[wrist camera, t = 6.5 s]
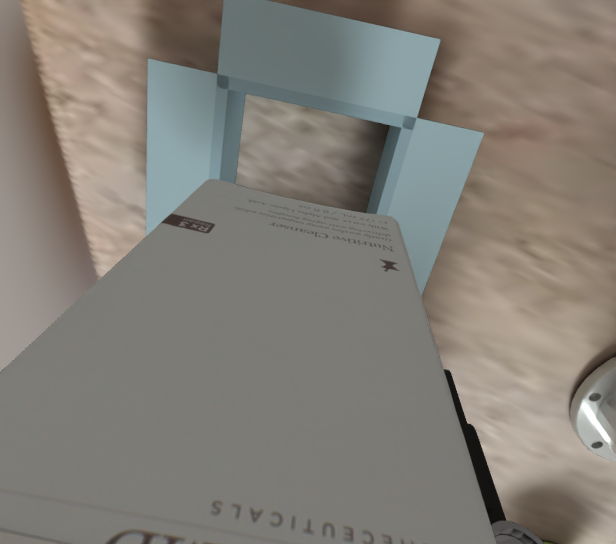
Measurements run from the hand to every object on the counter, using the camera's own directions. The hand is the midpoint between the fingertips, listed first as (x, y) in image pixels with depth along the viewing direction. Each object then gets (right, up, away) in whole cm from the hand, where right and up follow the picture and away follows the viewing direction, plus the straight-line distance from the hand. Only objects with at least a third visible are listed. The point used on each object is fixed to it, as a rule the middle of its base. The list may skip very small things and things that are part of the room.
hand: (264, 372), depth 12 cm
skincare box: (0, +4, +7) cm, 8 cm away
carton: (+1, +8, +16) cm, 18 cm away
